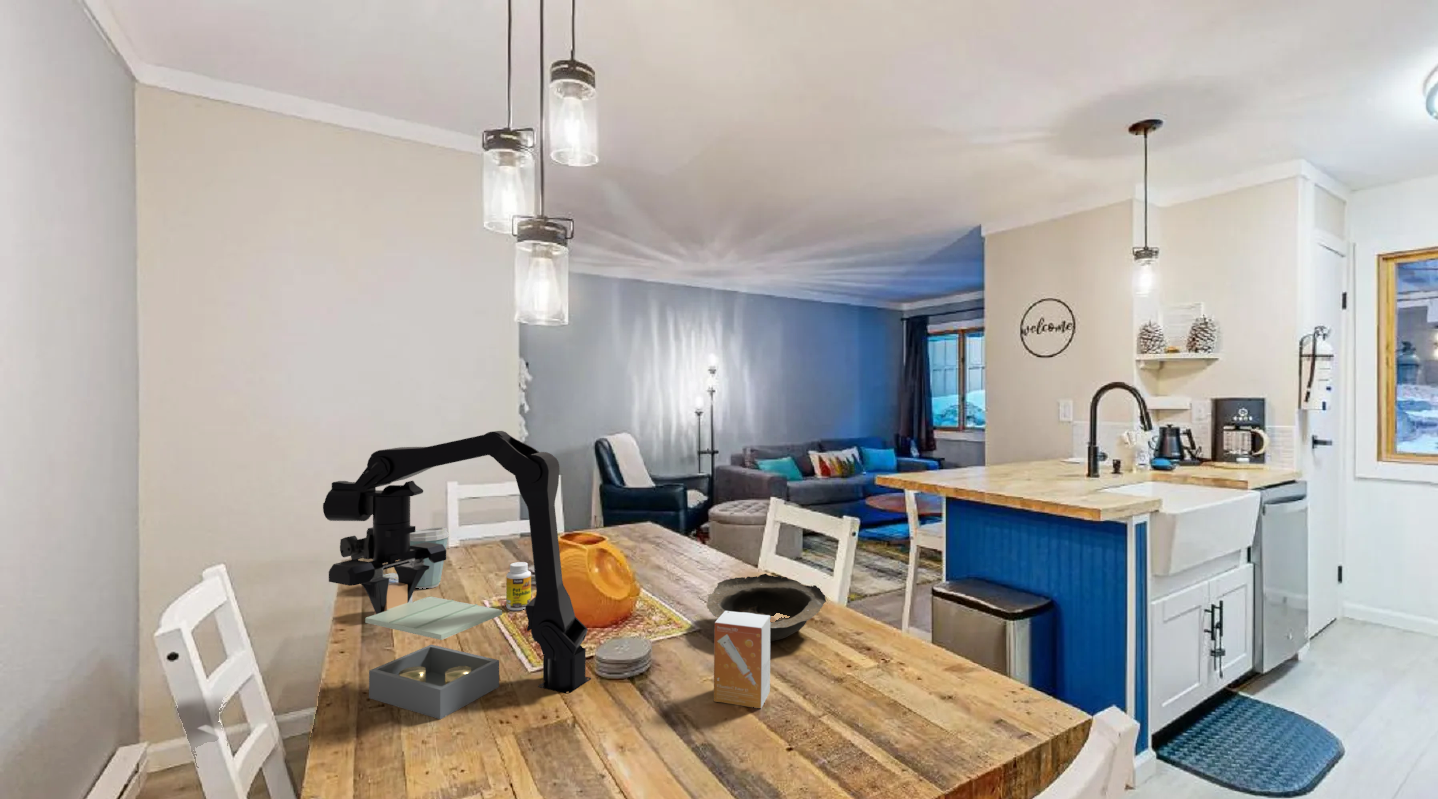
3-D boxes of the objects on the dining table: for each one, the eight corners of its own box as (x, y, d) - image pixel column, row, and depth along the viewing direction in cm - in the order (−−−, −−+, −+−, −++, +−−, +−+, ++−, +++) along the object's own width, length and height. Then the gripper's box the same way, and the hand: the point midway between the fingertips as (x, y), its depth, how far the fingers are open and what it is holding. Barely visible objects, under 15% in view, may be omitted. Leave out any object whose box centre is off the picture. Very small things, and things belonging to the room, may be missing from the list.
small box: (713, 702, 102) (713, 621, 102) (724, 685, 108) (724, 609, 108) (761, 710, 99) (762, 627, 99) (770, 692, 105) (771, 614, 105)
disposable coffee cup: (394, 590, 161) (394, 532, 161) (421, 579, 171) (421, 524, 171) (432, 593, 159) (432, 533, 159) (457, 581, 169) (457, 525, 170)
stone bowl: (791, 605, 149) (793, 567, 148) (845, 654, 125) (847, 609, 125) (691, 615, 141) (692, 575, 140) (727, 669, 117) (729, 620, 117)
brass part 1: (431, 690, 104) (431, 668, 104) (410, 700, 101) (410, 678, 101) (414, 685, 106) (414, 664, 106) (393, 695, 102) (393, 674, 102)
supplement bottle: (509, 613, 144) (510, 568, 144) (503, 606, 149) (503, 563, 149) (534, 608, 147) (534, 564, 147) (527, 602, 152) (527, 559, 152)
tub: (499, 690, 106) (499, 660, 106) (440, 723, 95) (440, 689, 95) (431, 672, 113) (431, 644, 113) (369, 701, 102) (369, 670, 102)
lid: (501, 626, 106) (502, 590, 106) (441, 653, 95) (441, 613, 95) (416, 609, 114) (416, 576, 114) (351, 631, 103) (351, 595, 103)
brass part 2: (476, 689, 105) (476, 668, 105) (457, 700, 101) (457, 678, 101) (458, 685, 106) (459, 664, 106) (439, 695, 103) (439, 673, 103)
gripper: (406, 509, 120) (406, 591, 120) (307, 527, 103) (306, 622, 103) (448, 514, 115) (448, 599, 115) (352, 533, 98) (351, 633, 98)
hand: (391, 612), depth 108 cm, fingers closed on lid, 4 cm apart
